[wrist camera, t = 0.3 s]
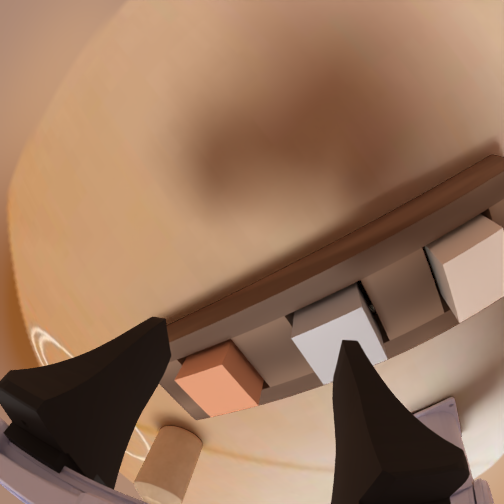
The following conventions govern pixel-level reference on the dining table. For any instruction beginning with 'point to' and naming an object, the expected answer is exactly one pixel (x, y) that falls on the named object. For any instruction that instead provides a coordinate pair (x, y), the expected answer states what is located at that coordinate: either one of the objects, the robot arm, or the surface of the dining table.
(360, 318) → the light gray cube
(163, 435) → the candle
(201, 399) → the orange cube
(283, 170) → the dining table surface
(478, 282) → the beige cube
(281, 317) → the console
